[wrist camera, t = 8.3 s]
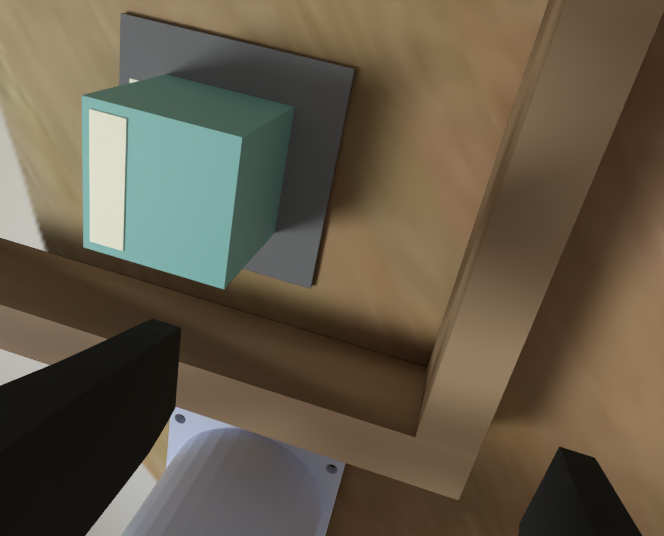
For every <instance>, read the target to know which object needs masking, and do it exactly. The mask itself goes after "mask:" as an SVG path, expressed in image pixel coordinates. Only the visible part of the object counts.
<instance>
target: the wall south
mask: <svg viewBox="0 0 664 536" xmlns="http://www.w3.org/2000/svg"><path fill="white" fill-rule="evenodd" d="M663 12H664V0H549V2H548V5H547V8H546V11H545V14H544V17H543V20H542V23H541V26H540V29H539V32H538V35H537V38H536V41H535V44H534V47H533V50H532V53H531V56H530V59H529V62H528V65H527V68H526V71H525V74H524V77H523V80H522V83H521V86H520V89H519V92H518V95H517V98H516V101H515V104H514V107H513V110H512V113H511V116H510V119H509V122H508V125H507V128H506V131H505V134H504V137H503V140H502V143H501V146H500V149H499V152H498V155H497V158H496V161H495V164H494V167H493V170H492V173H491V176H490V179H489V182H488V185H487V188H486V191H485V194H484V197H483V200H482V203H481V206H480V209H479V212H478V215H477V218H476V221H475V224H474V227H473V230H472V233H471V237H470V240H469V243H468V246H467V249H466V252H465V255H464V258H463V261H462V264H461V267H460V270H459V273H458V276H457V279H456V282H455V285H454V288H453V291H452V294H451V297H450V300H449V303H448V306H447V309H446V312H445V315H444V318H443V321H442V324H441V327H440V330H439V333H438V336H437V339H436V342H435V345H434V348H433V351H432V354H431V357H430V360H429V363H428V366H427V370H426V376H425V382H424V388H423V395H422V401H421V407H420V413H419V419H418V425H417V431H416V437H415V438H418V439H421V440H425V441H428V442H431V443H434V444H437V445H440V446H443V447H446V448H450V449H453V450H456V451H459V452H462V453H465V454H468V455H471V456H475V457H477V455H478V453H479V450H480V448H481V446H482V443H483V441H484V439H485V436H486V434H487V431H488V429H489V427H490V424H491V422H492V420H493V417H494V415H495V412H496V410H497V408H498V405H499V403H500V400H501V398H502V396H503V393H504V391H505V389H506V386H507V384H508V381H509V379H510V377H511V374H512V372H513V369H514V367H515V365H516V362H517V360H518V358H519V355H520V353H521V350H522V348H523V346H524V343H525V341H526V339H527V336H528V334H529V331H530V329H531V327H532V324H533V322H534V319H535V317H536V315H537V312H538V310H539V308H540V305H541V303H542V300H543V298H544V296H545V293H546V291H547V289H548V286H549V284H550V281H551V279H552V277H553V274H554V272H555V269H556V267H557V265H558V262H559V260H560V258H561V255H562V253H563V250H564V248H565V246H566V243H567V241H568V238H569V236H570V234H571V231H572V229H573V227H574V224H575V222H576V219H577V217H578V215H579V212H580V210H581V208H582V205H583V203H584V200H585V198H586V196H587V193H588V191H589V188H590V186H591V184H592V181H593V179H594V177H595V174H596V172H597V169H598V167H599V165H600V162H601V160H602V158H603V155H604V153H605V150H606V148H607V146H608V143H609V141H610V138H611V136H612V134H613V131H614V129H615V127H616V124H617V122H618V119H619V117H620V115H621V112H622V110H623V107H624V105H625V103H626V100H627V98H628V96H629V93H630V91H631V88H632V86H633V84H634V81H635V79H636V77H637V74H638V72H639V69H640V67H641V65H642V62H643V60H644V57H645V55H646V53H647V50H648V48H649V46H650V43H651V41H652V38H653V36H654V34H655V31H656V29H657V27H658V24H659V22H660V19H661V17H662V15H663Z"/></svg>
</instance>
